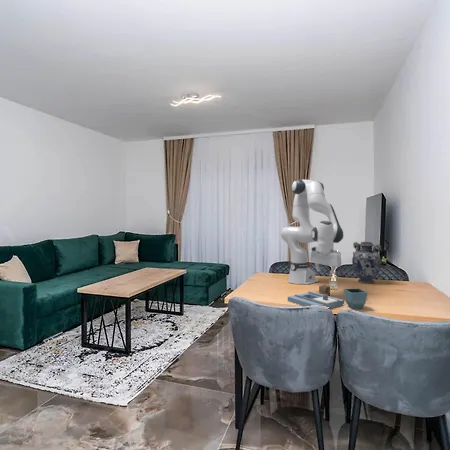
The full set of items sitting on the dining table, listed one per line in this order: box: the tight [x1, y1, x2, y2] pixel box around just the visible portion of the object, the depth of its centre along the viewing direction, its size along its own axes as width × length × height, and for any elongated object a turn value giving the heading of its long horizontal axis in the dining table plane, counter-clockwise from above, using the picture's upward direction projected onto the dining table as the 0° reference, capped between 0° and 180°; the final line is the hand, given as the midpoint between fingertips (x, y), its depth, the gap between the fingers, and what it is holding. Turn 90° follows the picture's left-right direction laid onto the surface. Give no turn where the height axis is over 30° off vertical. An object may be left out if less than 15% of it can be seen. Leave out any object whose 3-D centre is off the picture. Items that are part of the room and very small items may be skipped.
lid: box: [313, 294, 338, 304], centre depth 173 cm, size 9×9×3 cm
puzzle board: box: [287, 291, 345, 309], centre depth 179 cm, size 20×22×3 cm
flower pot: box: [343, 288, 368, 309], centre depth 171 cm, size 9×9×9 cm
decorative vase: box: [351, 241, 382, 285], centre depth 229 cm, size 21×19×28 cm
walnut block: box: [318, 284, 331, 297], centre depth 192 cm, size 4×4×6 cm
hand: (325, 272), depth 191 cm, fingers open, 8 cm apart
